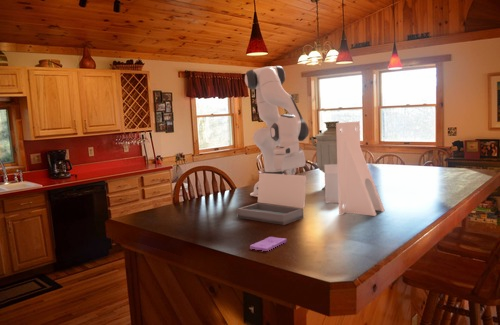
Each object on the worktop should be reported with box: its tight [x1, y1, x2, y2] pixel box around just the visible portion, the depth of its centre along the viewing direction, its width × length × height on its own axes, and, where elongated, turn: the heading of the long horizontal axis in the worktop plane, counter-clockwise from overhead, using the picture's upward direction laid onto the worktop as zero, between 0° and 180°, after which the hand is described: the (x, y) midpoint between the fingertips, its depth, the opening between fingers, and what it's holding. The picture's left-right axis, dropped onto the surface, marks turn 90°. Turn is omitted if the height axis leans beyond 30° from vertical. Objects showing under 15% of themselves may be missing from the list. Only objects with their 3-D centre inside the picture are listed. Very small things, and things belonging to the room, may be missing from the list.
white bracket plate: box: [336, 121, 386, 217], centre depth 177 cm, size 20×14×40 cm
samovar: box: [309, 120, 341, 191], centre depth 239 cm, size 30×26×40 cm
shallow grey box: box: [236, 202, 304, 226], centre depth 177 cm, size 26×14×4 cm, turn 48°
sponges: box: [249, 236, 288, 252], centre depth 138 cm, size 7×13×2 cm, turn 144°
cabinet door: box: [257, 172, 307, 209], centre depth 183 cm, size 26×14×2 cm
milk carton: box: [324, 164, 339, 204], centre depth 203 cm, size 7×7×19 cm
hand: (291, 178), depth 188 cm, fingers closed
